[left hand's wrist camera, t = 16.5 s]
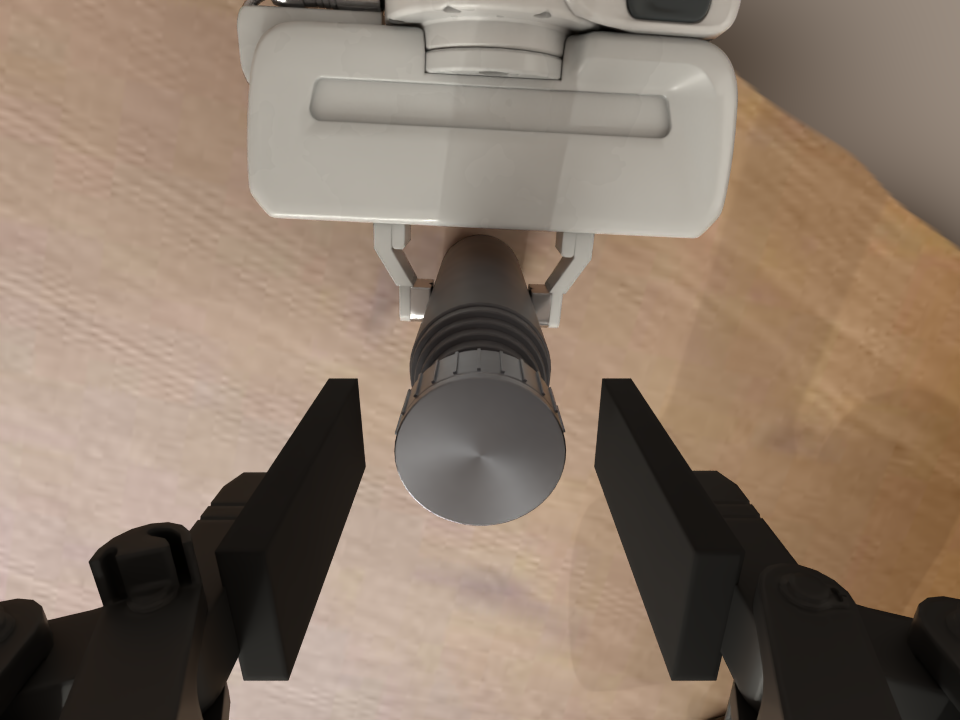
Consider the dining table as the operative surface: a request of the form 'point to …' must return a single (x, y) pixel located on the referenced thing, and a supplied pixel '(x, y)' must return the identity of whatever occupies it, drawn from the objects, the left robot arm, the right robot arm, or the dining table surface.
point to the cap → (480, 439)
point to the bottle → (480, 309)
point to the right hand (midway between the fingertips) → (480, 321)
